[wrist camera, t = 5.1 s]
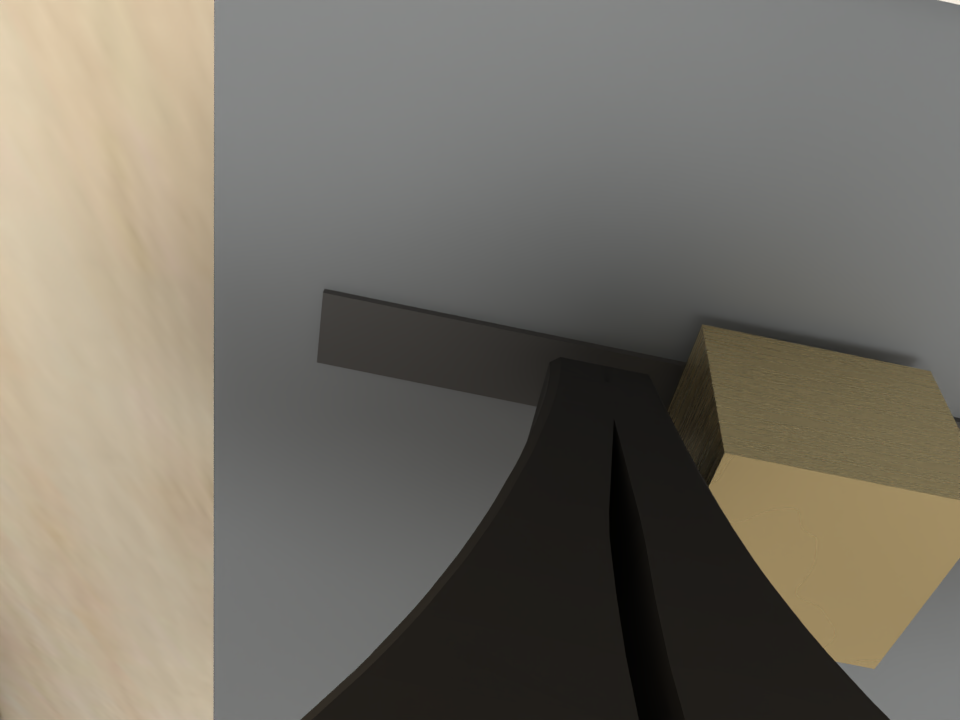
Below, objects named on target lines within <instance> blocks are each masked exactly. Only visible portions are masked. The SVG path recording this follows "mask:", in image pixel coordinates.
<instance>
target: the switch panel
mask: <svg viewBox="0 0 960 720" xmlns="http://www.w3.org/2000/svg"><path fill="white" fill-rule="evenodd" d="M702 324H703V325H708V326H713V327H718V328H723V329H727V330H732V331H737V332H742V333H747V334H752V335H757V336H761V337H766V338H771V339H776V340H781V341H786V342H791V343H796V344H800V345H805V346H810V347H815V348H820V349H825V350H830V351H835V352H839V353H844V354H849V355H854V356H859V357H864V358H869V359H874V360H878V361H883V362H888V363H893V364H898V365H903V366H908V367H912V368H917V369H922V370H927V371H931V373H932V375H933V377H934V379H935V381H936V383H937V385H938V387H939V389H940V391H941V393H942V395H943V397H944V399H945V401H946V403H947V405H948V407H949V409H950V412H951V414H952V416H953V418H954V420H955V422H956V424H957V426H958V428H959V430H960V5H958V4H954V3H949V2H945V1H940V0H214V720H301V719H302V718H303V717H304V716H305V715H306V714H307V713H308V712H309V711H311V710H312V709H313V708H314V707H315V706H316V705H317V704H318V703H319V702H320V701H322V700H323V699H324V698H325V697H326V696H327V695H328V694H329V693H330V692H331V691H333V690H334V689H335V688H336V687H337V686H338V685H339V684H340V683H341V682H342V681H344V680H345V679H346V678H347V677H348V676H349V675H350V674H351V673H352V672H353V671H355V670H356V669H357V668H358V667H359V666H360V665H361V664H362V663H363V662H364V661H365V660H366V659H367V658H368V657H369V656H370V655H371V654H372V653H373V651H374V650H375V649H376V648H377V647H378V646H379V645H380V644H381V643H382V642H383V641H384V640H385V639H386V638H387V637H388V636H389V635H390V633H391V632H392V631H393V630H394V629H395V628H396V627H397V626H398V625H399V624H400V623H401V622H402V621H403V620H404V619H405V618H406V617H407V615H408V614H409V613H410V612H411V611H412V610H413V609H414V608H415V607H416V605H417V604H418V603H419V602H420V601H421V600H422V598H423V597H424V596H425V595H426V594H427V593H428V591H429V590H430V589H431V588H432V587H433V585H434V584H435V583H436V581H437V580H438V579H439V578H440V576H441V575H442V574H443V573H444V571H445V570H446V569H447V568H448V566H449V565H450V564H451V563H452V561H453V560H454V559H455V558H456V556H457V555H458V553H459V552H460V551H461V549H462V548H463V547H464V545H465V544H466V542H467V541H468V540H469V538H470V537H471V535H472V534H473V533H474V531H475V530H476V528H477V527H478V525H479V524H480V522H481V521H482V519H483V518H484V516H485V515H486V513H487V512H488V510H489V509H490V507H491V506H492V504H493V502H494V501H495V499H496V497H497V496H498V494H499V492H500V490H501V489H502V487H503V485H504V484H505V482H506V480H507V478H508V477H509V475H510V473H511V472H512V470H513V468H514V466H515V465H516V463H517V461H518V459H519V457H520V455H521V453H522V451H523V449H524V446H525V444H526V442H527V439H528V436H529V432H530V429H531V425H532V422H533V418H534V415H535V411H536V408H537V404H538V401H539V397H540V394H541V390H542V387H543V383H544V380H545V376H546V373H547V369H548V366H549V362H551V361H553V360H555V359H557V358H559V357H563V358H568V359H573V360H578V361H583V362H588V363H593V364H598V365H603V366H608V367H613V368H618V369H623V370H628V371H633V372H638V373H643V374H648V375H649V376H650V378H651V380H652V381H653V383H654V385H655V387H656V389H657V391H658V393H659V395H660V397H661V399H662V401H663V403H664V405H665V407H666V409H667V410H668V407H669V405H670V402H671V400H672V397H673V395H674V392H675V390H676V388H677V385H678V383H679V380H680V378H681V375H682V373H683V370H684V368H685V365H686V363H687V360H688V358H689V355H690V353H691V350H692V348H693V346H694V343H695V341H696V338H697V336H698V333H699V331H700V328H701V326H702ZM836 663H837V664H838V665H839V666H840V667H841V668H842V669H843V670H844V671H845V672H846V674H847V675H848V676H849V677H850V678H851V679H852V680H853V681H854V682H855V683H856V684H857V686H858V687H859V688H860V689H861V690H862V691H863V692H864V693H865V694H866V695H867V696H868V697H869V698H870V700H871V701H872V702H873V703H874V704H875V705H876V706H877V707H878V708H879V709H880V710H881V711H882V712H883V713H884V714H885V715H886V716H887V717H888V718H889V719H890V720H960V558H959V559H958V561H957V562H956V563H955V565H954V566H953V567H952V569H951V570H950V571H949V573H948V574H947V575H946V576H945V578H944V579H943V580H942V582H941V583H940V584H939V586H938V587H937V588H936V589H935V591H934V592H933V593H932V595H931V596H930V597H929V599H928V600H927V601H926V603H925V604H924V605H923V606H922V608H921V609H920V610H919V612H918V613H917V614H916V616H915V617H914V618H913V620H912V621H911V622H910V623H909V625H908V626H907V627H906V629H905V630H904V631H903V633H902V634H901V635H900V636H899V638H898V639H897V640H896V642H895V643H894V644H893V646H892V647H891V648H890V650H889V651H888V652H887V653H886V655H885V656H884V657H883V659H882V660H881V661H880V663H879V664H878V665H877V666H876V668H875V669H872V668H867V667H861V666H856V665H851V664H846V663H841V662H836Z"/></svg>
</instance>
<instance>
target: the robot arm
mask: <svg viewBox="0 0 960 720" xmlns="http://www.w3.org/2000/svg"><path fill="white" fill-rule="evenodd" d="M301 720H890V719H889V718H888V717H887V716H886V715H885V714H884V713H883V712H882V711H881V710H880V709H879V708H878V707H877V706H876V705H875V704H874V703H873V702H872V701H871V700H870V698H869V697H868V696H867V695H866V694H865V693H864V692H863V691H862V690H861V689H860V688H859V687H858V686H857V684H856V683H855V682H854V681H853V680H852V679H851V678H850V677H849V676H848V675H847V674H846V672H845V671H844V670H843V669H842V668H841V667H840V666H839V665H838V664H837V663H836V661H835V660H834V659H833V658H832V657H831V656H830V655H829V654H828V653H827V652H826V650H825V649H824V648H823V647H822V646H821V645H820V643H819V642H818V641H817V640H816V639H815V638H814V636H813V635H812V634H811V633H810V632H809V631H808V629H807V628H806V627H805V626H804V625H803V623H802V622H801V621H800V619H799V618H798V617H797V616H796V614H795V613H794V612H793V611H792V609H791V608H790V607H789V605H788V604H787V603H786V602H785V600H784V599H783V598H782V597H781V595H780V594H779V593H778V591H777V590H776V589H775V588H774V586H773V585H772V584H771V583H770V581H769V580H768V578H767V577H766V576H765V574H764V573H763V572H762V570H761V569H760V567H759V566H758V565H757V563H756V562H755V560H754V559H753V557H752V556H751V554H750V553H749V551H748V550H747V548H746V547H745V545H744V544H743V542H742V541H741V539H740V538H739V536H738V535H737V533H736V532H735V530H734V529H733V527H732V525H731V524H730V522H729V521H728V519H727V517H726V516H725V514H724V513H723V511H722V509H721V508H720V506H719V504H718V503H717V501H716V499H715V497H714V496H713V494H712V492H711V491H710V489H709V487H708V485H707V484H706V482H705V480H704V478H703V477H702V475H701V473H700V472H699V470H698V468H697V466H696V464H695V463H694V461H693V459H692V457H691V455H690V454H689V452H688V450H687V448H686V446H685V444H684V442H683V440H682V438H681V436H680V434H679V433H678V431H677V429H676V427H675V425H674V423H673V421H672V419H671V417H670V415H669V413H668V411H667V409H666V407H665V405H664V403H663V401H662V399H661V397H660V395H659V393H658V391H657V389H656V387H655V385H654V383H653V381H652V380H651V378H650V376H649V375H648V374H643V373H638V372H633V371H628V370H623V369H618V368H613V367H608V366H603V365H598V364H593V363H588V362H583V361H578V360H573V359H568V358H563V357H559V358H557V359H555V360H553V361H551V362H549V366H548V369H547V373H546V376H545V380H544V383H543V387H542V390H541V394H540V397H539V401H538V404H537V408H536V411H535V415H534V418H533V422H532V425H531V429H530V432H529V436H528V439H527V442H526V444H525V446H524V449H523V451H522V453H521V455H520V457H519V459H518V461H517V463H516V465H515V466H514V468H513V470H512V472H511V473H510V475H509V477H508V478H507V480H506V482H505V484H504V485H503V487H502V489H501V490H500V492H499V494H498V496H497V497H496V499H495V501H494V502H493V504H492V506H491V507H490V509H489V510H488V512H487V513H486V515H485V516H484V518H483V519H482V521H481V522H480V524H479V525H478V527H477V528H476V530H475V531H474V533H473V534H472V535H471V537H470V538H469V540H468V541H467V542H466V544H465V545H464V547H463V548H462V549H461V551H460V552H459V553H458V555H457V556H456V558H455V559H454V560H453V561H452V563H451V564H450V565H449V566H448V568H447V569H446V570H445V571H444V573H443V574H442V575H441V576H440V578H439V579H438V580H437V581H436V583H435V584H434V585H433V587H432V588H431V589H430V590H429V591H428V593H427V594H426V595H425V596H424V597H423V598H422V600H421V601H420V602H419V603H418V604H417V605H416V607H415V608H414V609H413V610H412V611H411V612H410V613H409V614H408V615H407V617H406V618H405V619H404V620H403V621H402V622H401V623H400V624H399V625H398V626H397V627H396V628H395V629H394V630H393V631H392V632H391V633H390V635H389V636H388V637H387V638H386V639H385V640H384V641H383V642H382V643H381V644H380V645H379V646H378V647H377V648H376V649H375V650H374V651H373V653H372V654H371V655H370V656H369V657H368V658H367V659H366V660H365V661H364V662H363V663H362V664H361V665H360V666H359V667H358V668H357V669H356V670H355V671H353V672H352V673H351V674H350V675H349V676H348V677H347V678H346V679H345V680H344V681H342V682H341V683H340V684H339V685H338V686H337V687H336V688H335V689H334V690H333V691H331V692H330V693H329V694H328V695H327V696H326V697H325V698H324V699H323V700H322V701H320V702H319V703H318V704H317V705H316V706H315V707H314V708H313V709H312V710H311V711H309V712H308V713H307V714H306V715H305V716H304V717H303V718H302V719H301Z"/></svg>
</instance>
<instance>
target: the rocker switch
mask: <svg viewBox="0 0 960 720" xmlns="http://www.w3.org/2000/svg"><path fill="white" fill-rule="evenodd" d="M940 1H945V2H949V3H954V4H958V5H960V0H940Z"/></svg>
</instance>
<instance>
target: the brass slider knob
mask: <svg viewBox="0 0 960 720" xmlns="http://www.w3.org/2000/svg"><path fill="white" fill-rule="evenodd" d="M667 411H668V413H669V415H670V417H671V419H672V421H673V423H674V425H675V427H676V429H677V431H678V433H679V434H680V436H681V438H682V440H683V442H684V444H685V446H686V448H687V450H688V452H689V454H690V455H691V457H692V459H693V461H694V463H695V464H696V466H697V468H698V470H699V472H700V473H701V475H702V477H703V478H704V480H705V482H706V484H707V485H708V487H709V489H710V491H711V492H712V494H713V496H714V497H715V499H716V501H717V503H718V504H719V506H720V508H721V509H722V511H723V513H724V514H725V516H726V517H727V519H728V521H729V522H730V524H731V525H732V527H733V529H734V530H735V532H736V533H737V535H738V536H739V538H740V539H741V541H742V542H743V544H744V545H745V547H746V548H747V550H748V551H749V553H750V554H751V556H752V557H753V559H754V560H755V562H756V563H757V565H758V566H759V567H760V569H761V570H762V572H763V573H764V574H765V576H766V577H767V578H768V580H769V581H770V583H771V584H772V585H773V586H774V588H775V589H776V590H777V591H778V593H779V594H780V595H781V597H782V598H783V599H784V600H785V602H786V603H787V604H788V605H789V607H790V608H791V609H792V611H793V612H794V613H795V614H796V616H797V617H798V618H799V619H800V621H801V622H802V623H803V625H804V626H805V627H806V628H807V629H808V631H809V632H810V633H811V634H812V635H813V636H814V638H815V639H816V640H817V641H818V642H819V643H820V645H821V646H822V647H823V648H824V649H825V650H826V652H827V653H828V654H829V655H830V656H831V657H832V658H833V659H834V660H835V661H836V662H841V663H846V664H851V665H856V666H861V667H867V668H872V669H875V668H876V666H877V665H878V664H879V663H880V661H881V660H882V659H883V657H884V656H885V655H886V653H887V652H888V651H889V650H890V648H891V647H892V646H893V644H894V643H895V642H896V640H897V639H898V638H899V636H900V635H901V634H902V633H903V631H904V630H905V629H906V627H907V626H908V625H909V623H910V622H911V621H912V620H913V618H914V617H915V616H916V614H917V613H918V612H919V610H920V609H921V608H922V606H923V605H924V604H925V603H926V601H927V600H928V599H929V597H930V596H931V595H932V593H933V592H934V591H935V589H936V588H937V587H938V586H939V584H940V583H941V582H942V580H943V579H944V578H945V576H946V575H947V574H948V573H949V571H950V570H951V569H952V567H953V566H954V565H955V563H956V562H957V561H958V559H959V558H960V430H959V428H958V426H957V424H956V422H955V420H954V418H953V416H952V414H951V412H950V409H949V407H948V405H947V403H946V401H945V399H944V397H943V395H942V393H941V391H940V389H939V387H938V385H937V383H936V381H935V379H934V377H933V375H932V373H931V371H927V370H922V369H917V368H912V367H908V366H903V365H898V364H893V363H888V362H883V361H878V360H874V359H869V358H864V357H859V356H854V355H849V354H844V353H839V352H835V351H830V350H825V349H820V348H815V347H810V346H805V345H800V344H796V343H791V342H786V341H781V340H776V339H771V338H766V337H761V336H757V335H752V334H747V333H742V332H737V331H732V330H727V329H723V328H718V327H713V326H708V325H703V324H702V326H701V328H700V331H699V333H698V336H697V338H696V341H695V343H694V346H693V348H692V350H691V353H690V355H689V358H688V360H687V363H686V365H685V368H684V370H683V373H682V375H681V378H680V380H679V383H678V385H677V388H676V390H675V392H674V395H673V397H672V400H671V402H670V405H669V407H668V410H667Z"/></svg>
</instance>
